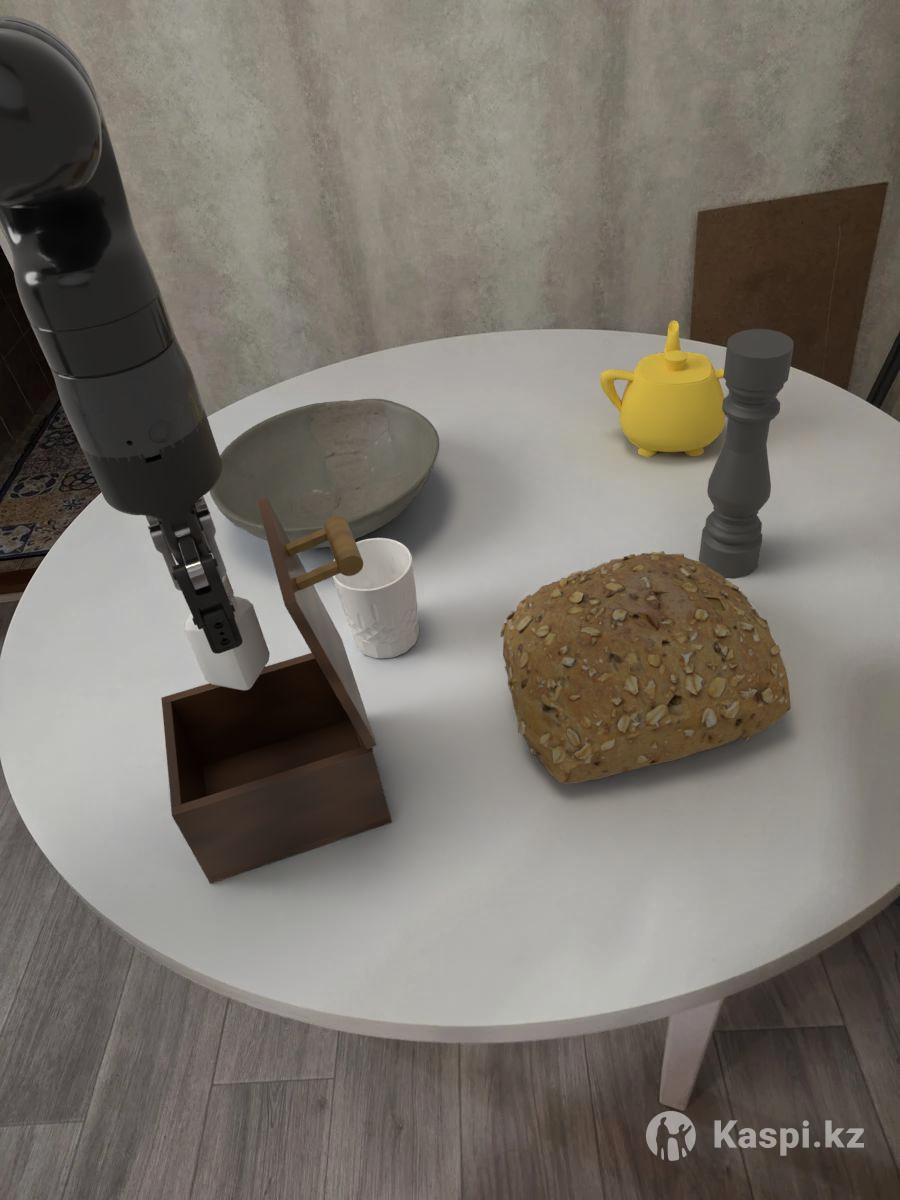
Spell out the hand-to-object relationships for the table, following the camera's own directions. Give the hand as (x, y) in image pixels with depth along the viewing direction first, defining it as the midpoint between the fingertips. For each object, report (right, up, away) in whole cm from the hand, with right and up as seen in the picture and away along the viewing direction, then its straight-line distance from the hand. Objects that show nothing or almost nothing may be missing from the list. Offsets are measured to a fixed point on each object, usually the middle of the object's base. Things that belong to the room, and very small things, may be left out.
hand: (219, 621), depth 63 cm
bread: (+34, -7, +18) cm, 39 cm away
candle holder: (+47, +6, +31) cm, 56 cm away
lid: (+6, 0, +2) cm, 7 cm away
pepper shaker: (+1, -4, +4) cm, 6 cm away
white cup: (+10, -2, +27) cm, 29 cm away
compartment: (+3, -16, +14) cm, 21 cm away
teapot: (+46, +24, +50) cm, 72 cm away
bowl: (+3, +12, +45) cm, 47 cm away
